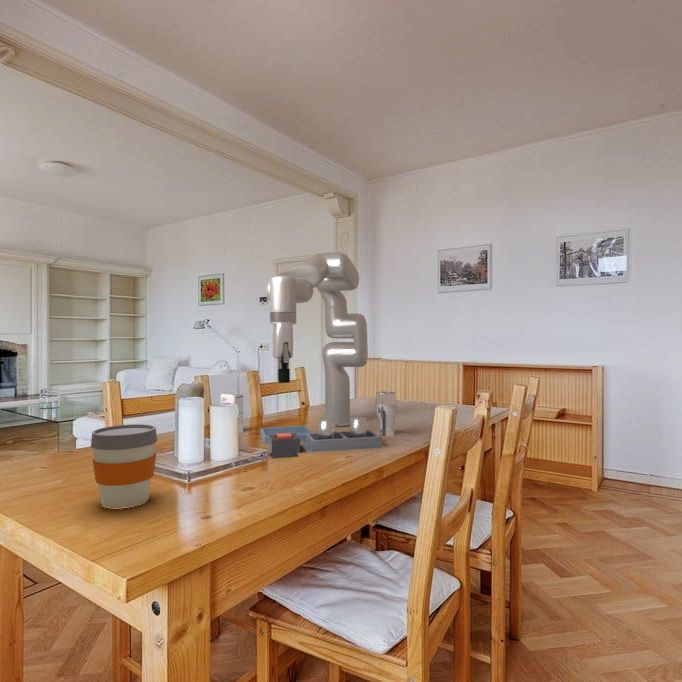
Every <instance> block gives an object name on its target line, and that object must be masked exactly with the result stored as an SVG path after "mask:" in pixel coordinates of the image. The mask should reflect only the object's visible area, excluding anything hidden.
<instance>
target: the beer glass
mask: <svg viewBox="0 0 682 682" xmlns="http://www.w3.org/2000/svg"><path fill="white" fill-rule="evenodd" d="M396 413H397V393H396V392H395V391H388V390H387V391H383V390H382V391H376V393H375V414H376V419H377V432H376V434H378V435H379V436H381V437H391V436H392V437H393V436H395V435H396V433H395V420H396V415H397V414H396Z"/></svg>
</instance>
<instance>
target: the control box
mask: <svg viewBox="0 0 682 682" xmlns="http://www.w3.org/2000/svg"><path fill="white" fill-rule="evenodd" d="M291 435H292V438H284V439H276V434H272V435H269V444H268V449H269V451H270V453H269V455H270V458H271V459H279V458H280V459H281V458H295V456H297V457H299V455H298V454H300V453H301V444H300V443H301V442H300V438H299V437H298V435H297V434H296V433H291Z"/></svg>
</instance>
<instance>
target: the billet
mask: <svg viewBox="0 0 682 682" xmlns="http://www.w3.org/2000/svg"><path fill="white" fill-rule="evenodd" d="M317 423H318V428H317V429H318V430H317V431H318V432H317V433H318V440H326V439H335V432H336V426H335V419H333V418H325V417H323V418H322V417H321V418H318V422H317Z"/></svg>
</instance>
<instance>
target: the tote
mask: <svg viewBox="0 0 682 682" xmlns="http://www.w3.org/2000/svg"><path fill="white" fill-rule="evenodd" d="M259 431H260V432H259V433H260V436H261V440H262V441H263V444H264V445H269V435H272V434H282V433H290V434H291V433H296V434H297V435H298V437H299V438H300V443H305V434H308V433H313V431H311V430H310V428H309V427H307V425H293V426H291V425H290V426H275V427H260V429H259Z"/></svg>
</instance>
